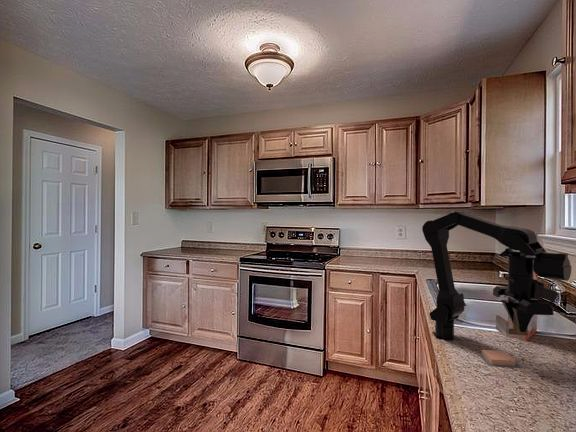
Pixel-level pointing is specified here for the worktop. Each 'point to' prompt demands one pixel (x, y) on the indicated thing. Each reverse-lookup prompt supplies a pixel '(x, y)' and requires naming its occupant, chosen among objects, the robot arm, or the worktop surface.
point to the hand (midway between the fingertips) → (520, 330)
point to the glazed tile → (498, 357)
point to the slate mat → (499, 365)
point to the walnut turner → (504, 327)
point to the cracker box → (531, 327)
